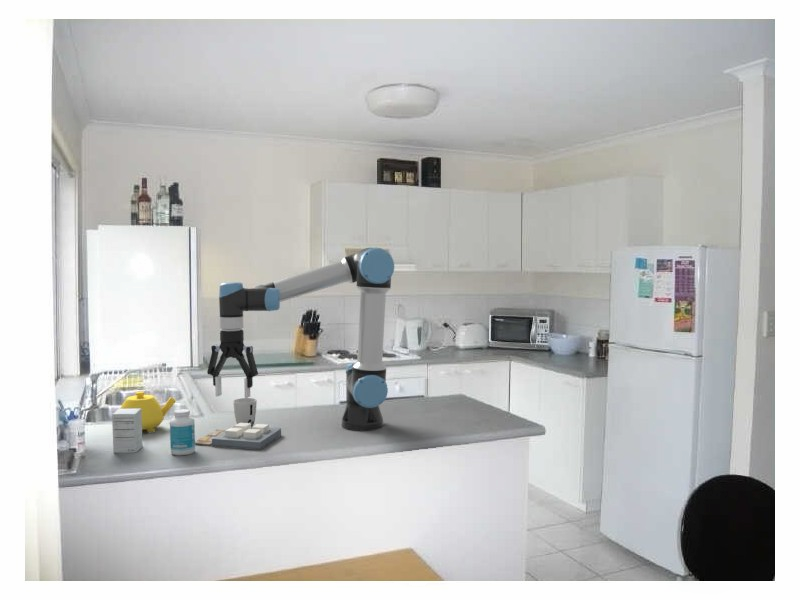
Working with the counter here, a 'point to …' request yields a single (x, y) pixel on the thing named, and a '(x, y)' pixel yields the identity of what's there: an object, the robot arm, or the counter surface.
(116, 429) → the supplement box
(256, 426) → the button
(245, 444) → the button board
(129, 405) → the teapot
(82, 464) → the counter surface
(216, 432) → the card
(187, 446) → the pill bottle
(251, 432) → the button
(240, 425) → the button
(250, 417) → the cup
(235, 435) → the button
